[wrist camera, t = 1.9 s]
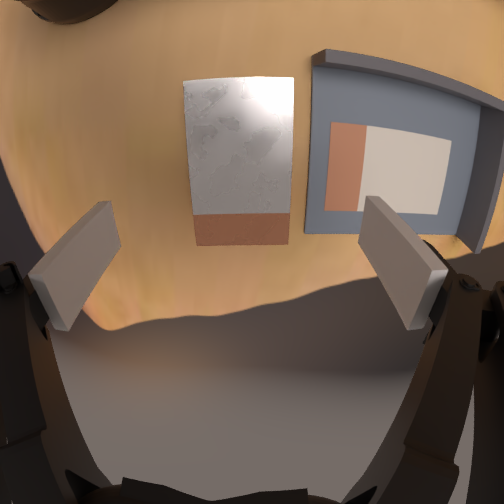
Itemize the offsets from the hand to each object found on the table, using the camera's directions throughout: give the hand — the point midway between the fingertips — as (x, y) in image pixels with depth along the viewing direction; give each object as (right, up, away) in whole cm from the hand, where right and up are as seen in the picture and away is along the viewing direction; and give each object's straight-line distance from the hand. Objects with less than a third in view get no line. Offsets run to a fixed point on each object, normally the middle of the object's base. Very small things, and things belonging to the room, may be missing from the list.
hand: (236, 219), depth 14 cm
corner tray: (+19, +9, +14) cm, 25 cm away
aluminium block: (0, +9, +14) cm, 17 cm away
